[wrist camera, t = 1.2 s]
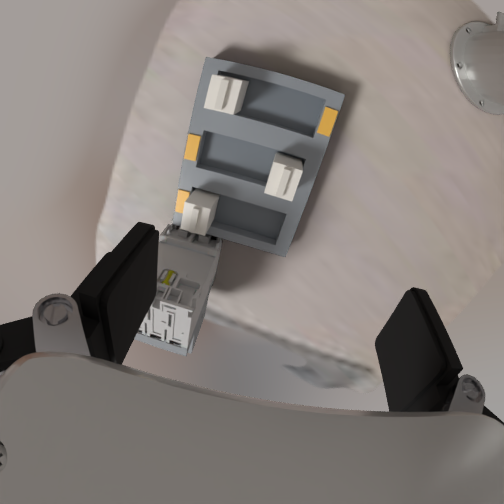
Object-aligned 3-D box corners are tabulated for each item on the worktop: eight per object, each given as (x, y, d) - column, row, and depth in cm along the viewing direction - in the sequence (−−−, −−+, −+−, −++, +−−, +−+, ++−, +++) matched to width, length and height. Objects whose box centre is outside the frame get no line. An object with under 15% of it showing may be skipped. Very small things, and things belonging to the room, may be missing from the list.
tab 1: (196, 187, 36) (183, 203, 32) (219, 193, 36) (209, 210, 32) (191, 212, 38) (178, 230, 34) (214, 218, 38) (203, 238, 34)
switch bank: (212, 58, 28) (205, 56, 26) (341, 93, 29) (345, 94, 27) (179, 214, 40) (171, 224, 37) (286, 246, 40) (285, 258, 38)
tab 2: (222, 75, 28) (210, 74, 24) (249, 81, 28) (241, 80, 24) (214, 104, 30) (202, 108, 26) (240, 110, 30) (232, 115, 26)
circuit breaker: (165, 294, 48) (130, 364, 36) (172, 219, 40) (122, 286, 28) (208, 307, 48) (183, 382, 36) (224, 233, 41) (192, 308, 28)
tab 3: (276, 151, 32) (273, 162, 28) (301, 159, 32) (303, 172, 28) (267, 179, 34) (263, 194, 30) (292, 186, 34) (292, 203, 30)
